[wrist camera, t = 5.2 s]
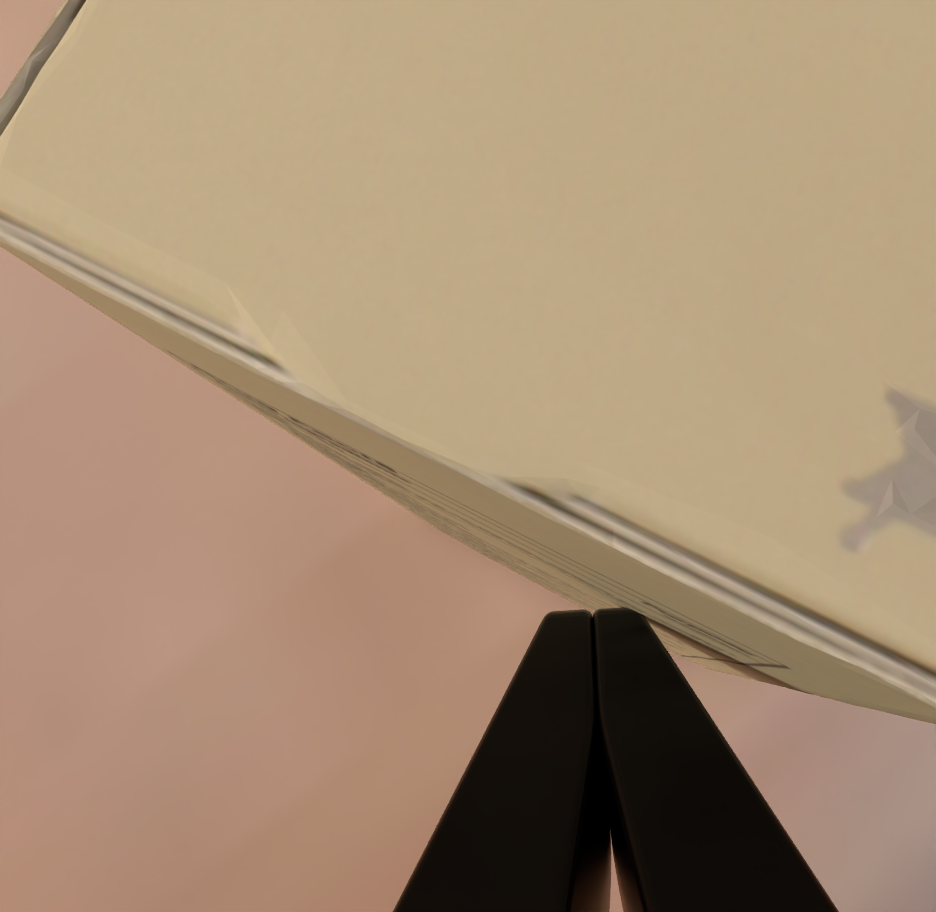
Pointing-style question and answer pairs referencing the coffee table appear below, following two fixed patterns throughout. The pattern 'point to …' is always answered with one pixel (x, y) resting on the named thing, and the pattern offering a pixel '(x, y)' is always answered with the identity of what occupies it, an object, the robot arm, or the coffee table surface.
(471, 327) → the skincare box
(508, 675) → the coffee table surface
